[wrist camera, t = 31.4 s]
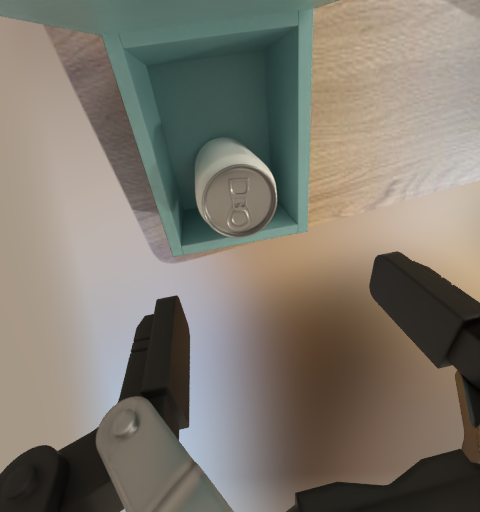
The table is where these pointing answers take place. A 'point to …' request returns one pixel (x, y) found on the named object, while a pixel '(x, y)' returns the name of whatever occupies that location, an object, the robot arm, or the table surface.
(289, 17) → the teal open box
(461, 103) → the table surface
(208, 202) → the can
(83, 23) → the lid
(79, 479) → the robot arm
